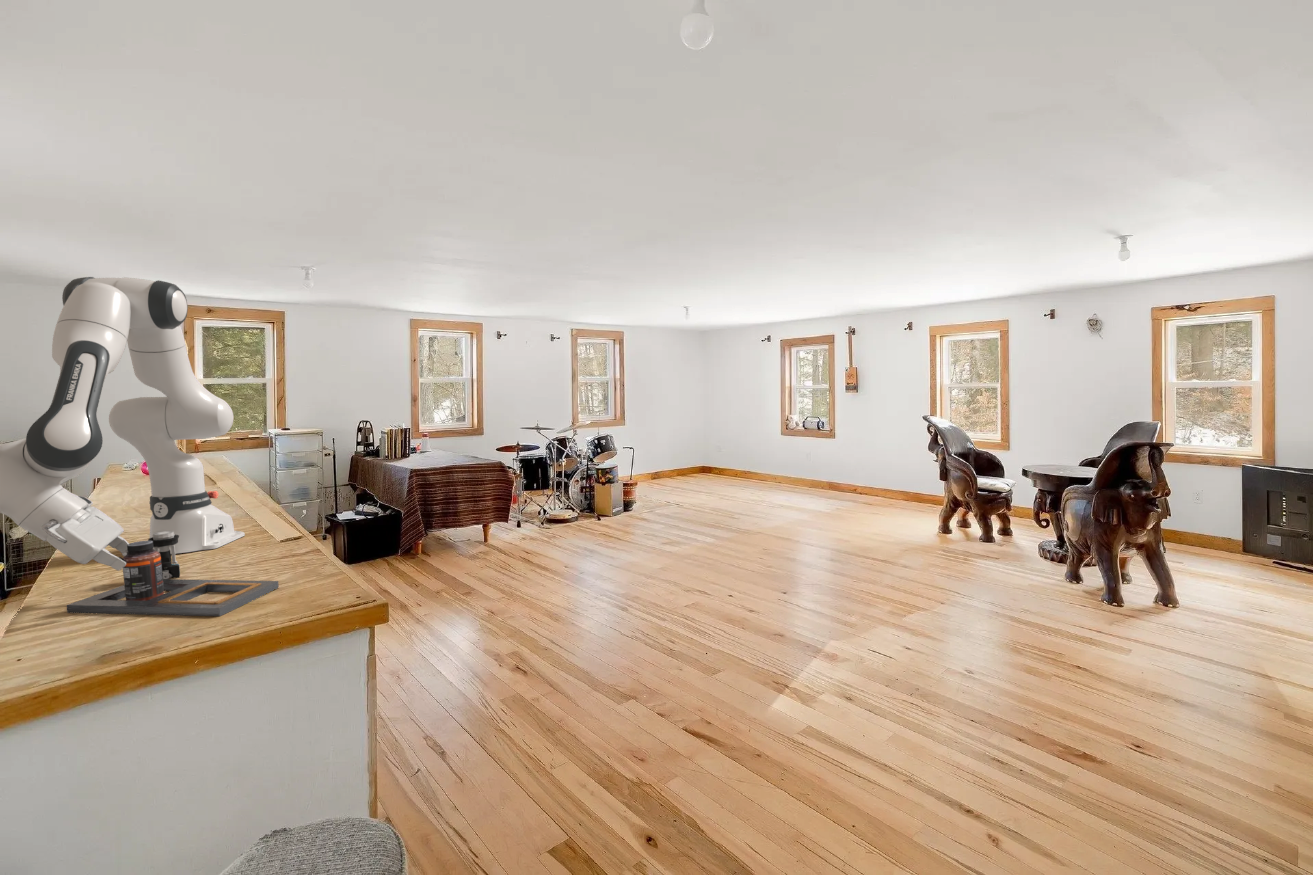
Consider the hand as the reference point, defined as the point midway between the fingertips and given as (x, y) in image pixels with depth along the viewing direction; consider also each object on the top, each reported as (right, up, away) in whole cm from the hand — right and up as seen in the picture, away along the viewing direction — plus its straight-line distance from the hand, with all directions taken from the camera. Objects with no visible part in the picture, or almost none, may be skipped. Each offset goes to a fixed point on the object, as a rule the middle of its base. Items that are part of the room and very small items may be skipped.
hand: (129, 560), depth 124 cm
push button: (-5, -7, +15) cm, 18 cm away
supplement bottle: (+2, -8, +2) cm, 8 cm away
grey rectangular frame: (+9, -8, +1) cm, 12 cm away
